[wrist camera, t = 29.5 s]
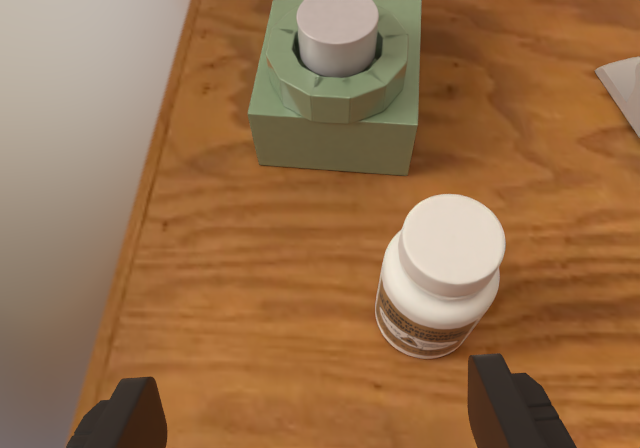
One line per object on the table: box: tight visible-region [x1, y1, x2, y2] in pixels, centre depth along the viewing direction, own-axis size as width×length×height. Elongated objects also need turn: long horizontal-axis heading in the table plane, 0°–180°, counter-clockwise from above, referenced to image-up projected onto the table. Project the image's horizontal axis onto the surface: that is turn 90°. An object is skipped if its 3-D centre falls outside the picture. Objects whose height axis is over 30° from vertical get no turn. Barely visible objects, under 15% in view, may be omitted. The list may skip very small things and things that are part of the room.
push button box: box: [248, 0, 422, 176], centre depth 29 cm, size 12×8×6 cm, turn 174°
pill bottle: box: [375, 194, 506, 359], centre depth 21 cm, size 4×4×8 cm
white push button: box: [296, 0, 379, 78], centre depth 24 cm, size 4×4×2 cm
